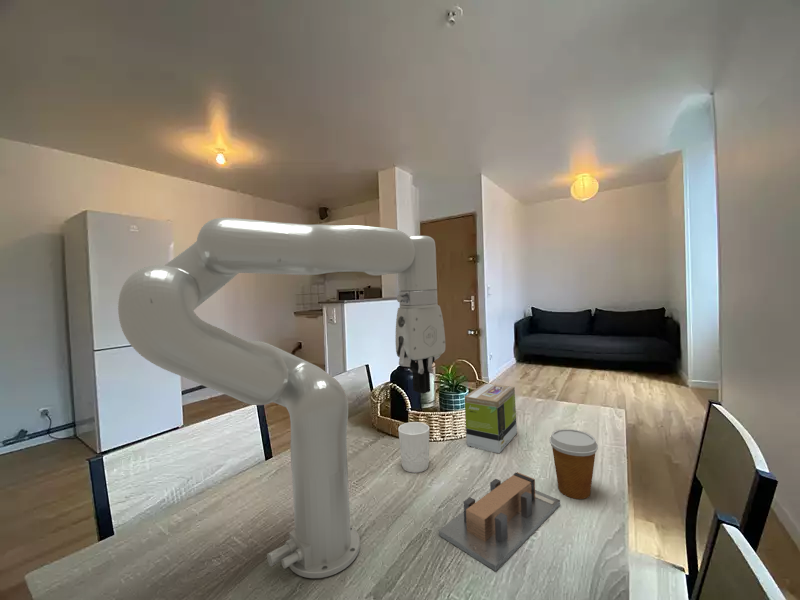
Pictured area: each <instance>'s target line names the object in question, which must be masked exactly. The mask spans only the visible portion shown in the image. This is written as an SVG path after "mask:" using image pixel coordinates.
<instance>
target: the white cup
mask: <svg viewBox="0 0 800 600" xmlns="http://www.w3.org/2000/svg"><path fill="white" fill-rule="evenodd" d="M397 430H398V438H399V439H398V440H399V441H398V442H399V450H400V457H401V458H400V459H401V467H402V469H403V470H405V472H408V473H412V474H415V473H417V474H418V473H421V472H425V471H426V470H428V468H429V465H430V463H429V457H430V426H429V425H428V424H427V423H424V422H421V421H420V422H419V421H410V422H405V423H402V424H400V425H399V426H398V428H397Z"/></svg>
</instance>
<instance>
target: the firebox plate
mask: <svg viewBox="0 0 800 600" xmlns="http://www.w3.org/2000/svg"><path fill="white" fill-rule="evenodd" d="M506 480H507V479H505V480H504V481H502V483H503V482H505V481H506ZM502 483H501V480H499V479H497V478H495V479H492V481H490V485H489V487H490V488H489V490H490V491H489V492H491V491H492V490H494V489H495V488H496V487H498V486H499V485H500V484H502ZM487 494H488V493H486V494H485V495H487ZM483 497H484V496H482V497H481V498H483ZM479 500H480V499H478V500H477V501H479ZM474 503H476V499H475V498H473V497H468V498H466V499H465V500H463V511H462V512H461V513H460V514H459V515H457V516H456V517H454V518H453V519H452V520H451V521H450V520H449V522H448V523H446V524H445V525H443V526H442V527H441V528H440V529H439V530H438V536H440V537H441V538H442V539H444V540H445V541H447V542H449V543H451V544H452V545H453V546H455V547H457V548H458V549H460V550H461V551H463V552H464V553H466V554H468V556H470V557H472V558H474V559H475V560H476V561H478V562H480V563H482V565H485V566H486V567H488V568H489V569H491V570H492V571H494V572H497V571H498V570H499V569H500V568H501V567H502V566H503V565H504V564H505V563H506V562H508V560H509V559H510V558H511V557H512V556H513V555H514V554H515V553H516V552H517V551H518V550H519V549H520V548H521V547H522V545H523V544H524V543H525V542H526V541H527V540H528V539H529V538H530V537H531V536H533V534H534V533H535V532H536V531H537V530H538V529H539V528H540V526H542V525H543V523H544V522H545V521H546V520H547V519H548V518H550V516H551V515H552V514H553V513H554V512H555V511H556V510H557V509H558V508H559V507H560V506H561V500H560V499H559V498H555V497H553V496H550V495H548V494H545V493H544V492H542V491H538V490H536V489H535V498H534V500H533V501H532V494H531V493H528V492H525V493H523V494H522V495H521V511H520V512H519V513H517V514H516V515H515V516H514V517H513V518H512V519H511V520H509V521H508V522H507V515H505V514H503V513H500V514H499V515H498V516H496V517H495V534H494V535H492V536H491V537H490V538H489V539H488V540H487V541H486V542H485V541H483V540H481V539H480V538H478V537H476V536H475V535H473V534H471V533H470V532H468V531H467V522H466V509H468V508H469V507H470V506H472V505H473V504H474Z"/></svg>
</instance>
